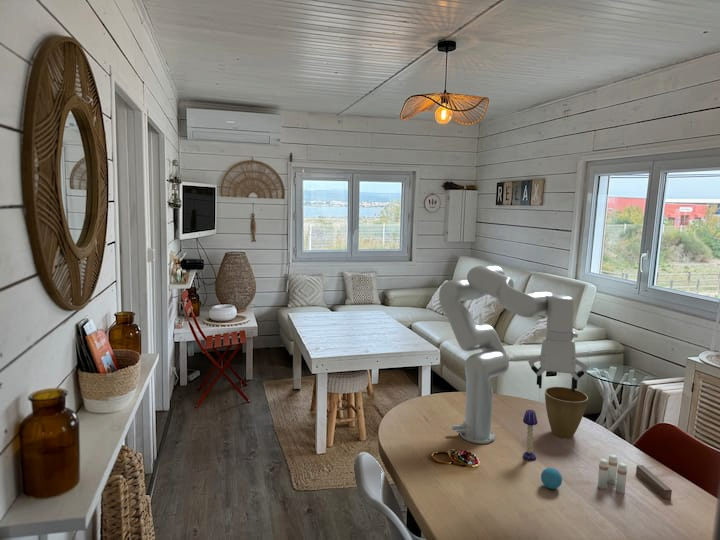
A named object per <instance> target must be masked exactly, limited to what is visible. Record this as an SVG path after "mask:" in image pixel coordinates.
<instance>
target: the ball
mask: <svg viewBox="0 0 720 540" xmlns="http://www.w3.org/2000/svg"><path fill="white" fill-rule="evenodd" d="M540 479H541V483H542V484H543V486H545V487H546V488H548V489H550V490H555V489H558V488H560V486H561V485H562V482H563V477H562V474H561V472H559V470H558V469H556V468H554V467H546V468H544V469H543V470H542V471H541V474H540Z"/></svg>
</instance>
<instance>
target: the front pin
mask: <svg viewBox="0 0 720 540" xmlns="http://www.w3.org/2000/svg"><path fill="white" fill-rule="evenodd" d="M608 460H609V459H605V458H600V459H599V464H598V477H597V487H598V489H599V488H600V489H602V490H607V484H608V482H607V474H608V463H609V461H608Z"/></svg>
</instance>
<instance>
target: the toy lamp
mask: <svg viewBox="0 0 720 540" xmlns="http://www.w3.org/2000/svg"><path fill="white" fill-rule="evenodd" d="M522 421H523V424H525V425H527V428H526V429H527V433H526V434H527V437H526V439H527V440H526V443H527V444H526V451H525V452H523V455H522V458H523V459H524V460H526V461H528V462H529V461H530V462H534V461H536V459H537V457H536V454H535V452H533V439H534V436H533V435H534V432H533V431H534V428H533V427H534V426H536V425H537V424H538V419H537V414H536V411H535V410H534V409H526V410H525V413H524V416H523V418H522Z"/></svg>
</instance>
